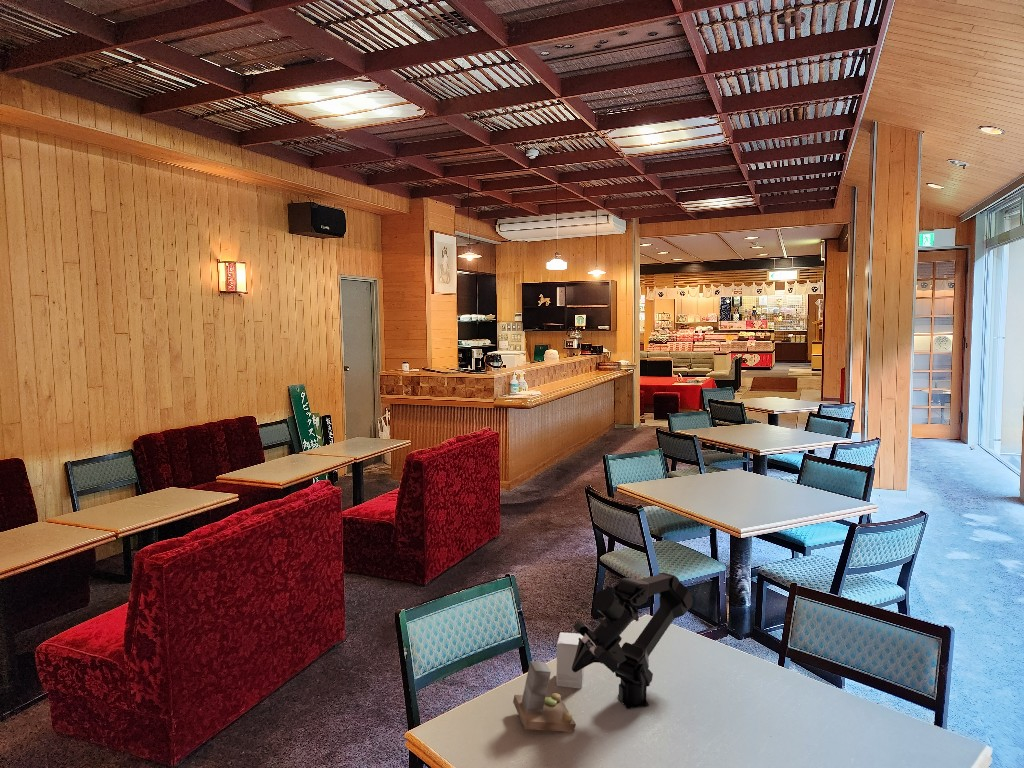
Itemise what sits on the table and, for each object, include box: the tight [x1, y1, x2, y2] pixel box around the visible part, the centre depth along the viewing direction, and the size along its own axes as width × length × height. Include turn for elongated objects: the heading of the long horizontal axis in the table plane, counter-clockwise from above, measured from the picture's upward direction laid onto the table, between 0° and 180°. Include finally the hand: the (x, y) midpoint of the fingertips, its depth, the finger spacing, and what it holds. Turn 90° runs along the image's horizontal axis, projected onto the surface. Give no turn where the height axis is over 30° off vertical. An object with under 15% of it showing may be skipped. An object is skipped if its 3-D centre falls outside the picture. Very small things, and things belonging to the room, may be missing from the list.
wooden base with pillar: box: [512, 660, 577, 733], centre depth 168 cm, size 13×12×13 cm
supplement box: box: [555, 631, 585, 689], centre depth 188 cm, size 7×7×13 cm
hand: (573, 670), depth 169 cm, fingers closed
